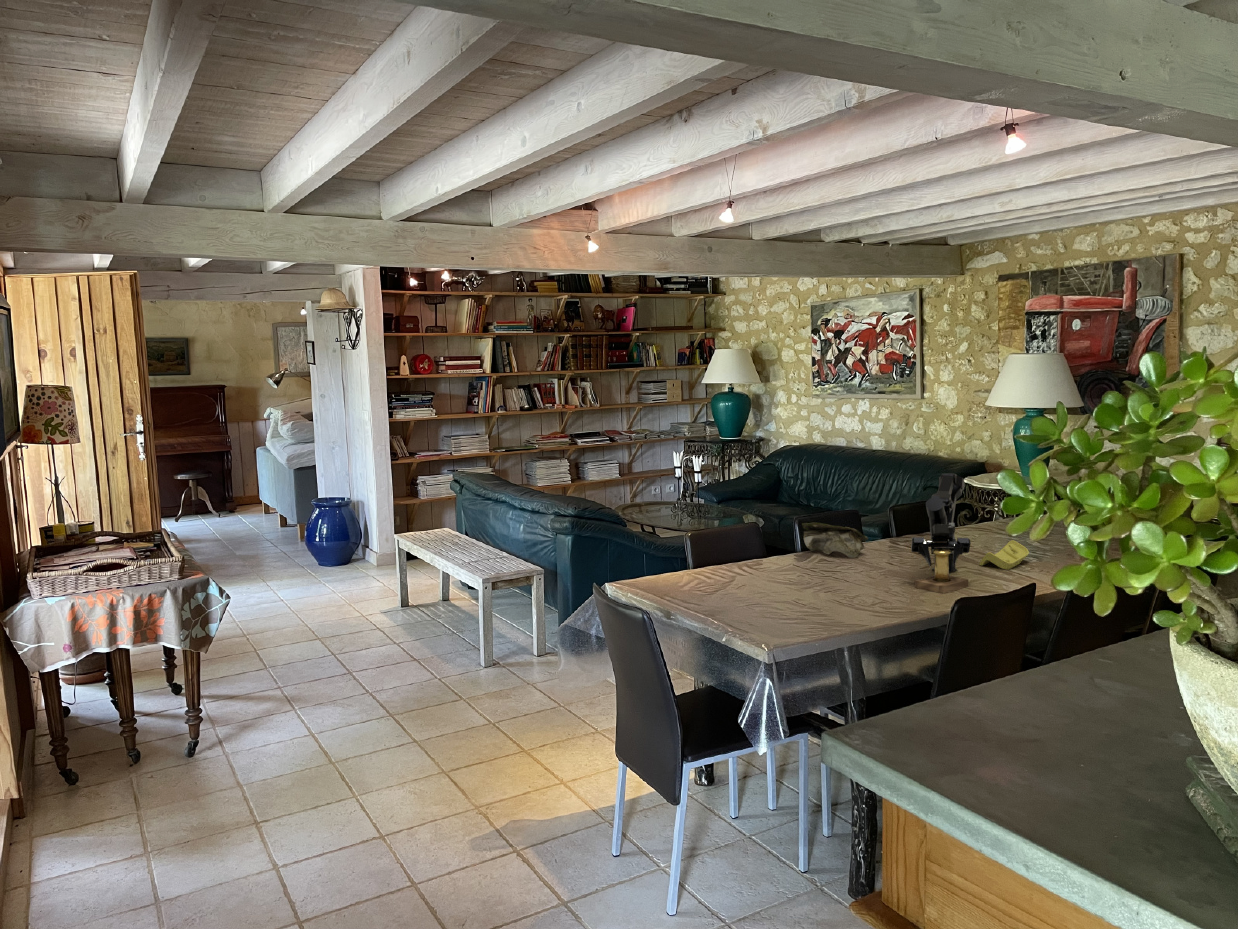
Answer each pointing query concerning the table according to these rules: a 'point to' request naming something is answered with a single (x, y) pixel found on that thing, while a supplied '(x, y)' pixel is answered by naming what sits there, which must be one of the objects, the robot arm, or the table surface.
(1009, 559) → the plastic component
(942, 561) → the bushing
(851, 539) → the hollow geode rock
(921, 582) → the jig
